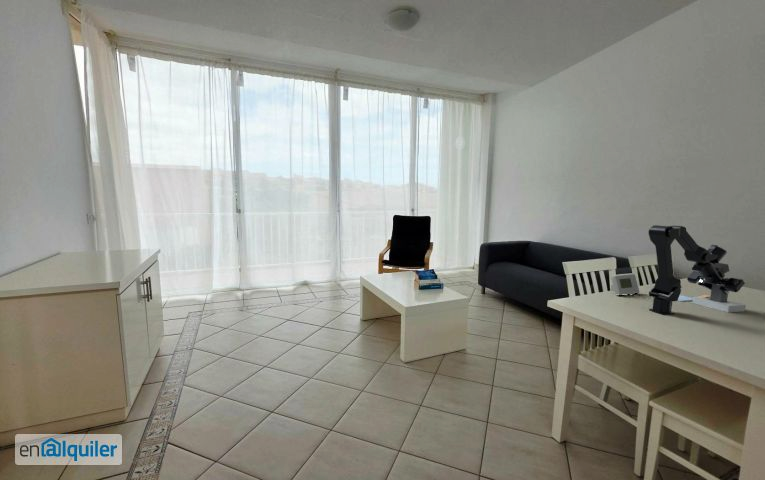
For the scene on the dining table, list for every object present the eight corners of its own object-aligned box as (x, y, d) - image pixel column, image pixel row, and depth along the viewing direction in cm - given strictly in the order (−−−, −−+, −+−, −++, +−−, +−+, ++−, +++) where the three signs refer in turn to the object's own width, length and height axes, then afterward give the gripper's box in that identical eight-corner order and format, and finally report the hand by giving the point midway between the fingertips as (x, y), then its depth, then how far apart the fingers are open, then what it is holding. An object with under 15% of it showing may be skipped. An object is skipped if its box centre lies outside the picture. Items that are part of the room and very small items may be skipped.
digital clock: (616, 296, 166) (618, 276, 165) (603, 292, 175) (604, 273, 174) (645, 296, 168) (647, 276, 167) (630, 291, 177) (632, 272, 176)
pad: (680, 301, 159) (681, 300, 159) (659, 295, 168) (660, 294, 168) (696, 300, 161) (697, 299, 160) (675, 294, 170) (675, 293, 170)
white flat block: (727, 312, 143) (729, 304, 143) (692, 302, 157) (693, 295, 157) (744, 311, 145) (746, 303, 145) (708, 301, 159) (709, 294, 159)
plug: (719, 307, 149) (723, 278, 147) (709, 305, 153) (713, 276, 151) (726, 307, 150) (730, 277, 148) (715, 304, 153) (719, 276, 152)
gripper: (745, 261, 138) (759, 285, 142) (694, 254, 156) (708, 275, 160) (729, 280, 138) (743, 303, 141) (680, 270, 156) (694, 291, 159)
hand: (721, 292), depth 151 cm, fingers closed on plug, 4 cm apart
